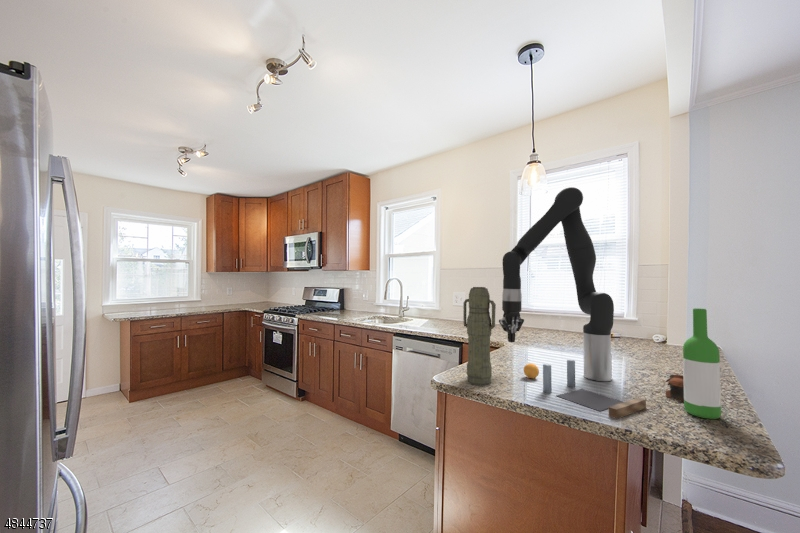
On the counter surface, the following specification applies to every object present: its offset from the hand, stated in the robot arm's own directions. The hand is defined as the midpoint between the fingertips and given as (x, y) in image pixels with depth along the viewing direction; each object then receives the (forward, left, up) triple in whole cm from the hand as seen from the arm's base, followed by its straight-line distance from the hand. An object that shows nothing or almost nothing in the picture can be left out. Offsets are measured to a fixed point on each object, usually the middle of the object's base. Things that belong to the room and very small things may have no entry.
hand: (511, 342), depth 134 cm
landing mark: (+2, +33, -12) cm, 36 cm away
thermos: (+21, +3, -12) cm, 24 cm away
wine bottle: (-15, +55, -12) cm, 59 cm away
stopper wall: (+2, +44, -12) cm, 46 cm away
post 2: (-5, +22, -12) cm, 26 cm away
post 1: (+8, +22, -12) cm, 27 cm away
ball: (0, +9, -10) cm, 13 cm away
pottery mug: (-26, +48, -13) cm, 56 cm away
